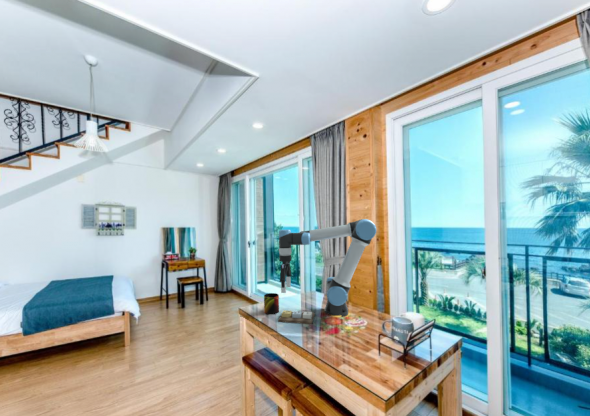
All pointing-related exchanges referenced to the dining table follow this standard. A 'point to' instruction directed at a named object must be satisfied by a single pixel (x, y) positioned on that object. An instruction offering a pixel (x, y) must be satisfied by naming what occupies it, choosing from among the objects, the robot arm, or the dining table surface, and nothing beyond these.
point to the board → (296, 319)
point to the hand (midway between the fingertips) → (286, 289)
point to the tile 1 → (286, 313)
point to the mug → (271, 303)
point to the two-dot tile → (297, 314)
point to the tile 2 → (307, 315)
